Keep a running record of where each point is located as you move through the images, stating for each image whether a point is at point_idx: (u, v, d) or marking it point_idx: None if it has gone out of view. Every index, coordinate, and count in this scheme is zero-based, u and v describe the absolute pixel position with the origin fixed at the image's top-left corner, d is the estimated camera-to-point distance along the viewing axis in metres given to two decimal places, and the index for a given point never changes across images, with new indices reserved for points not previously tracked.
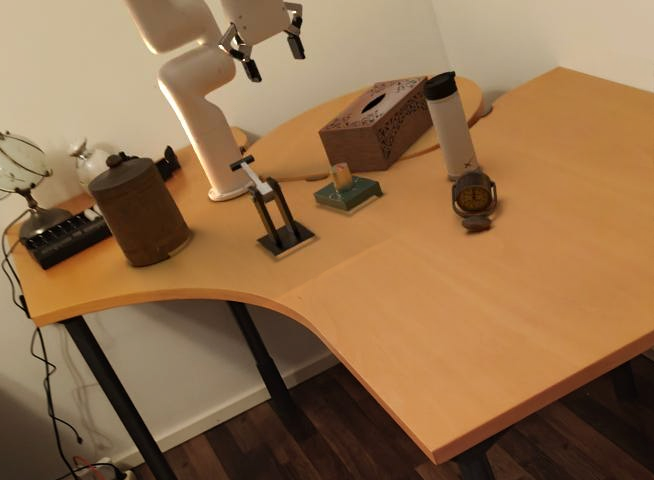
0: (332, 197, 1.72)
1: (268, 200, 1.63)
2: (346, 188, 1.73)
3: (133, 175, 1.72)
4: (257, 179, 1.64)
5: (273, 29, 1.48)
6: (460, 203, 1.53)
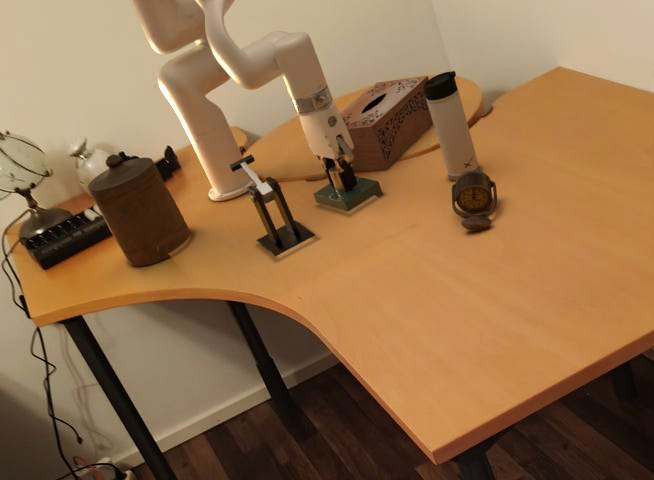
0: (332, 197, 1.72)
1: (268, 200, 1.63)
2: None
3: (133, 175, 1.72)
4: (257, 179, 1.64)
5: (326, 154, 1.68)
6: (460, 203, 1.53)
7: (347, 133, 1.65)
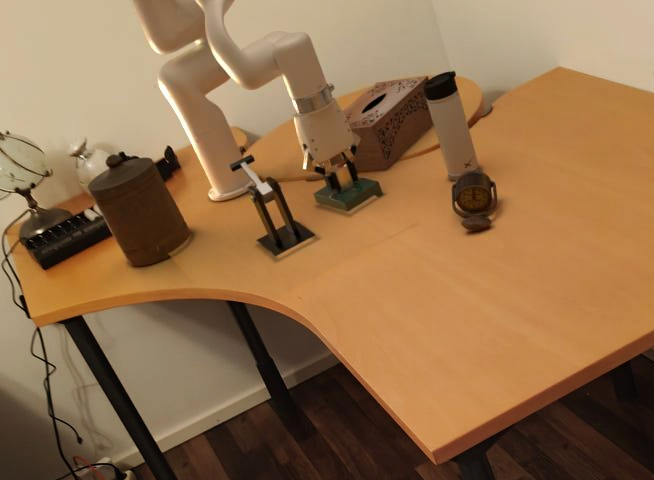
0: (332, 197, 1.72)
1: (268, 200, 1.63)
2: None
3: (133, 175, 1.72)
4: (257, 179, 1.64)
5: (339, 148, 1.69)
6: (460, 203, 1.53)
7: None
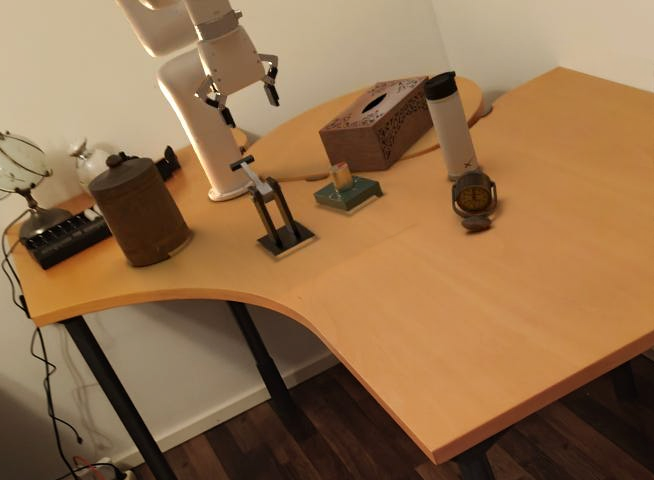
0: (332, 197, 1.72)
1: (268, 200, 1.63)
2: None
3: (133, 175, 1.72)
4: (257, 179, 1.64)
5: (248, 80, 1.58)
6: (460, 203, 1.53)
7: None
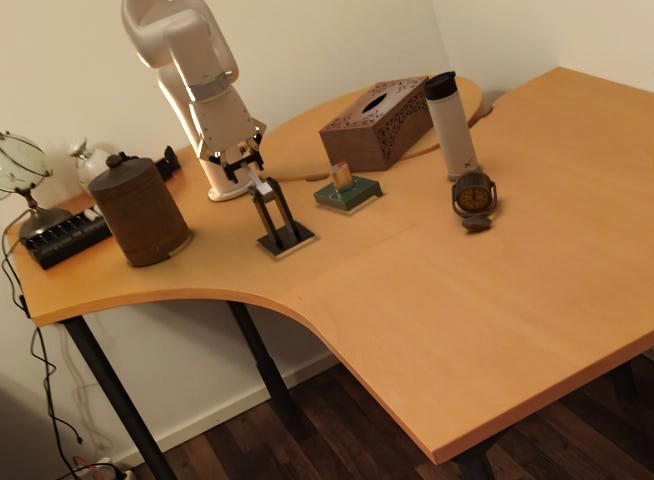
0: (332, 197, 1.72)
1: (268, 200, 1.63)
2: None
3: (133, 175, 1.72)
4: (257, 179, 1.64)
5: (238, 138, 1.63)
6: (460, 203, 1.53)
7: None
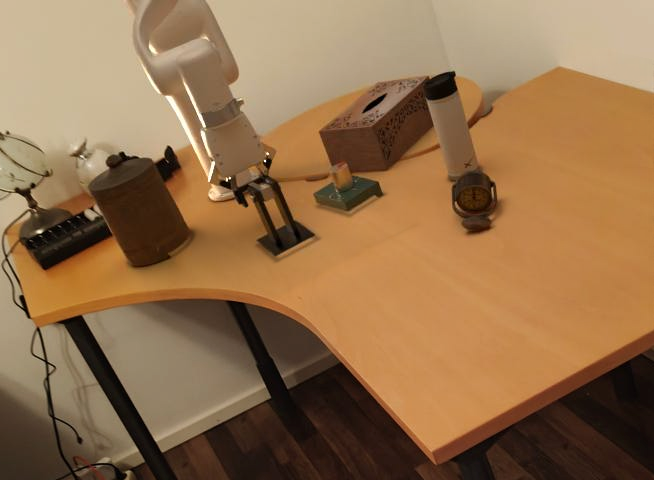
0: (332, 197, 1.72)
1: (268, 198, 1.62)
2: None
3: (133, 175, 1.72)
4: (260, 187, 1.66)
5: (248, 163, 1.67)
6: (460, 203, 1.53)
7: None
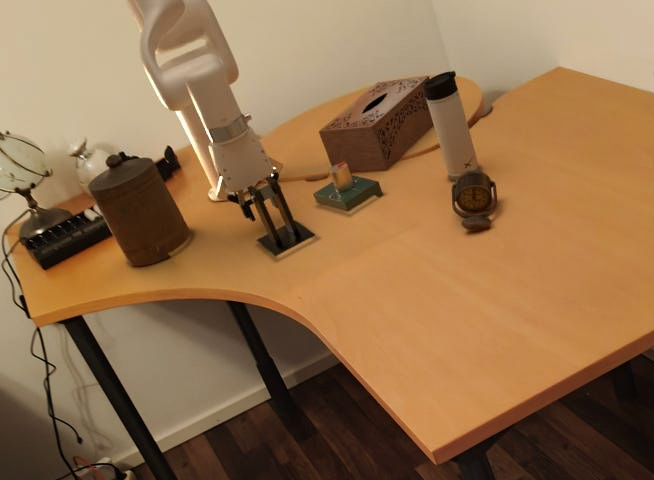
0: (332, 197, 1.72)
1: (267, 196, 1.62)
2: None
3: (133, 175, 1.72)
4: None
5: (256, 177, 1.68)
6: (460, 203, 1.53)
7: None
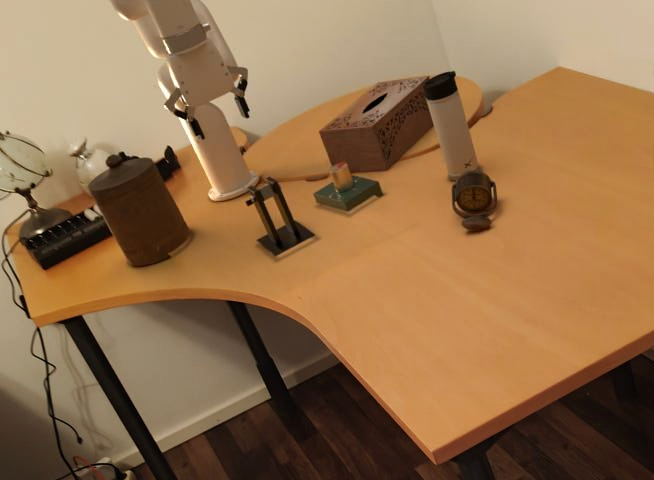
0: (332, 197, 1.72)
1: (267, 196, 1.62)
2: None
3: (133, 175, 1.72)
4: None
5: (216, 92, 1.60)
6: (460, 203, 1.53)
7: None
